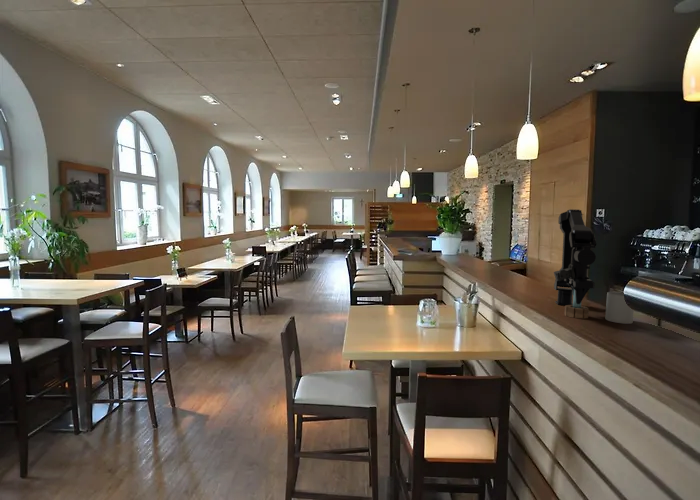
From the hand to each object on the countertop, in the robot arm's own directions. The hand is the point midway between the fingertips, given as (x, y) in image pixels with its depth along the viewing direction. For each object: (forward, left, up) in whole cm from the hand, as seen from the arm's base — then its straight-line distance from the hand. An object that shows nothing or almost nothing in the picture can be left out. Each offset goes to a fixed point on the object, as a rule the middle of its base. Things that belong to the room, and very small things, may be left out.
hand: (577, 303), depth 155 cm
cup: (+2, +14, -5) cm, 15 cm away
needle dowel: (0, 0, -4) cm, 4 cm away
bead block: (0, 0, -5) cm, 5 cm away
